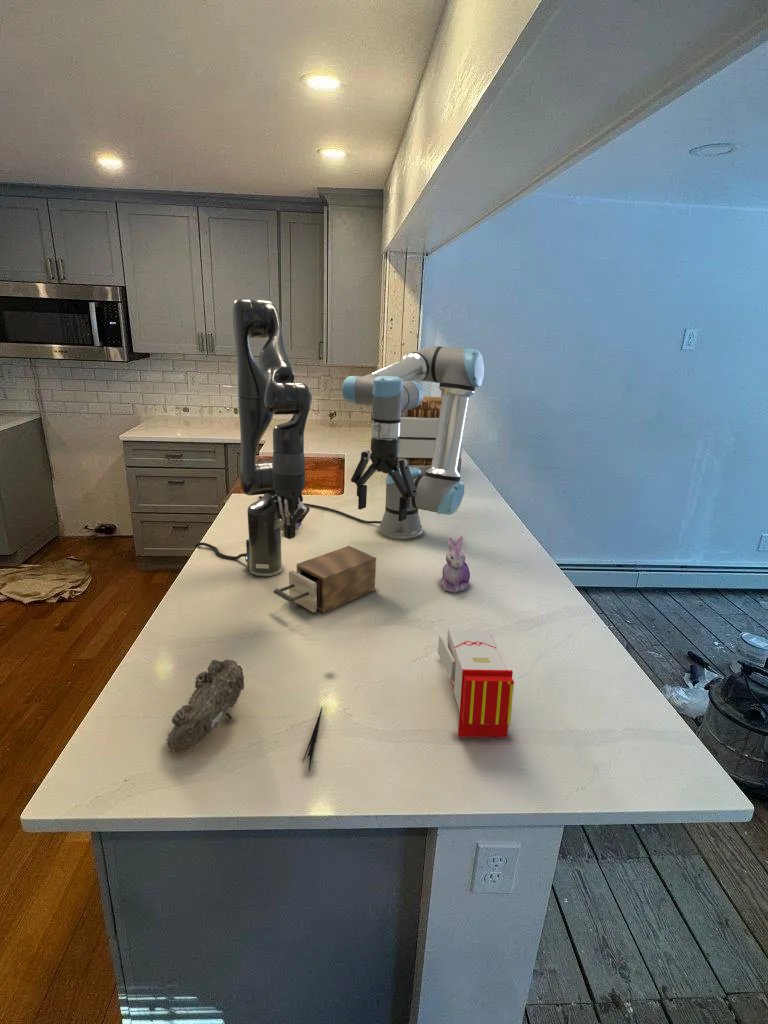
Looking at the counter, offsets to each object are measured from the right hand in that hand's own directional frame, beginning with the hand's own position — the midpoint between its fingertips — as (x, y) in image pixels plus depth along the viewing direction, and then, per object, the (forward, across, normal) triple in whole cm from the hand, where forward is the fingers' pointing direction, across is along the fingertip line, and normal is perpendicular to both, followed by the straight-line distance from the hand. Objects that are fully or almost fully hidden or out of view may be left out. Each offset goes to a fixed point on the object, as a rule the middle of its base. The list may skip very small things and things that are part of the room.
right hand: (381, 514), depth 155 cm
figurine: (+22, +17, +14) cm, 31 cm away
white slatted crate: (+21, -54, +108) cm, 123 cm away
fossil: (+22, +8, -64) cm, 69 cm away
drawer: (+21, -7, -18) cm, 28 cm away
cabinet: (+22, -6, -12) cm, 25 cm away
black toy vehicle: (+22, -49, +15) cm, 55 cm away
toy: (+22, +43, -26) cm, 55 cm away
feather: (+22, +24, -52) cm, 62 cm away
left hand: (+1, -8, -27) cm, 28 cm away
